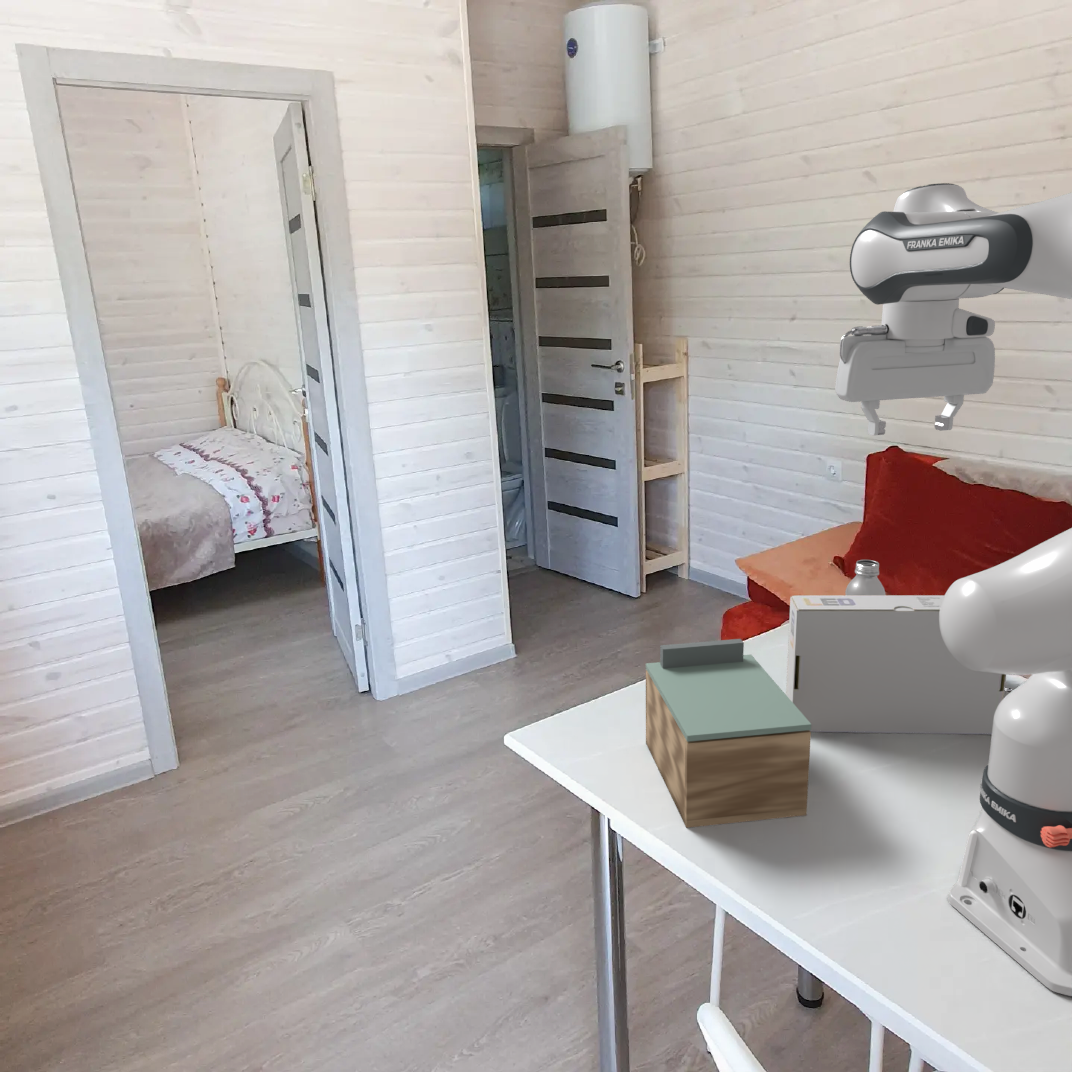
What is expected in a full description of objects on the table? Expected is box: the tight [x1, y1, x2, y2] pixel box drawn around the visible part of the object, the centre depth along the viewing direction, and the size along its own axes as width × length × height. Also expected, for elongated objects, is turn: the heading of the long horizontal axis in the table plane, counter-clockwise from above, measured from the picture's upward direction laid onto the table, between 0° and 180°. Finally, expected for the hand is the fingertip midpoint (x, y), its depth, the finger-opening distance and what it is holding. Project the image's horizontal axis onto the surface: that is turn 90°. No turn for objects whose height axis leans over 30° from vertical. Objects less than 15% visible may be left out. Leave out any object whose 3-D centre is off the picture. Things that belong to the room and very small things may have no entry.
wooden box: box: [645, 669, 812, 829], centre depth 127 cm, size 22×16×12 cm
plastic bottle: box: [844, 559, 887, 595], centre depth 156 cm, size 6×7×20 cm
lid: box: [645, 638, 811, 742], centre depth 125 cm, size 22×16×4 cm
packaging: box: [785, 594, 1007, 735], centre depth 139 cm, size 30×6×20 cm, turn 84°
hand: (909, 432), depth 119 cm, fingers open, 8 cm apart
